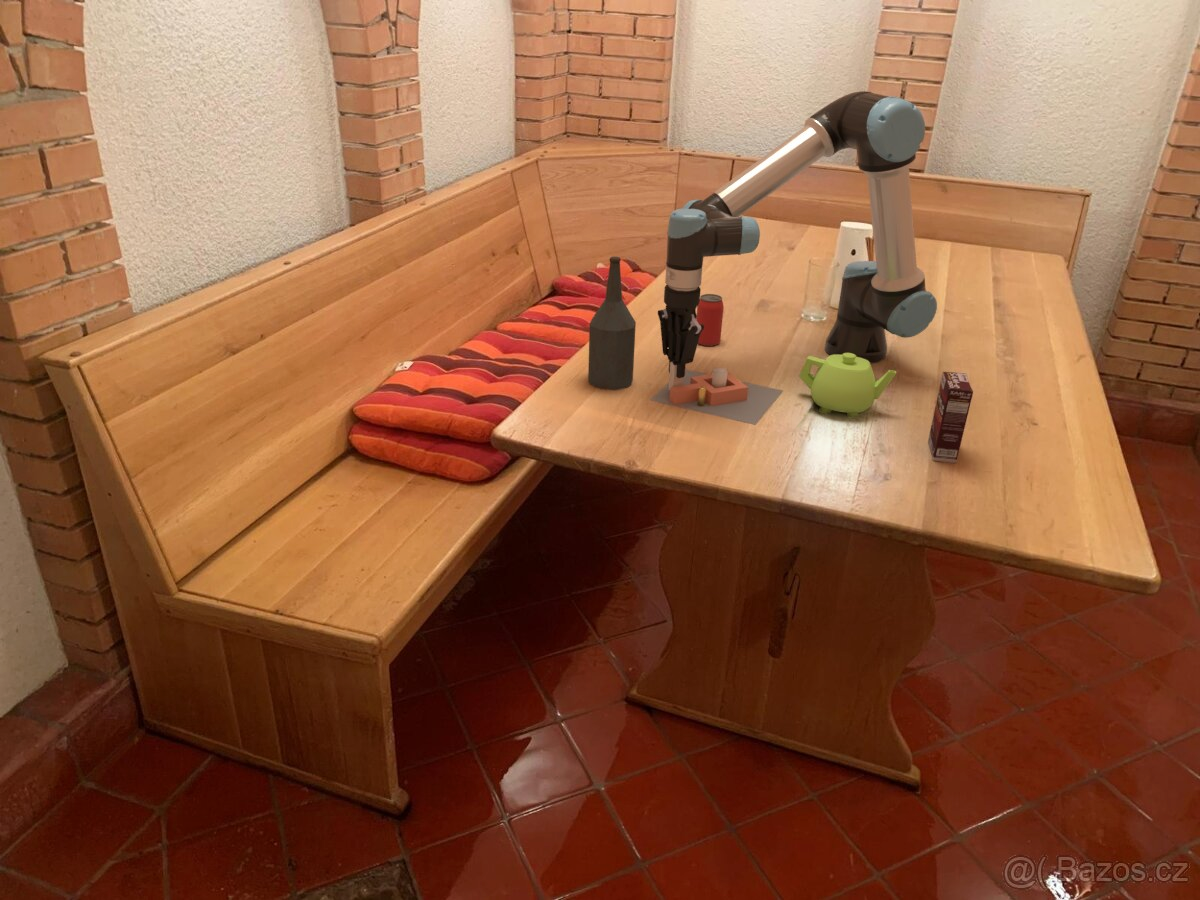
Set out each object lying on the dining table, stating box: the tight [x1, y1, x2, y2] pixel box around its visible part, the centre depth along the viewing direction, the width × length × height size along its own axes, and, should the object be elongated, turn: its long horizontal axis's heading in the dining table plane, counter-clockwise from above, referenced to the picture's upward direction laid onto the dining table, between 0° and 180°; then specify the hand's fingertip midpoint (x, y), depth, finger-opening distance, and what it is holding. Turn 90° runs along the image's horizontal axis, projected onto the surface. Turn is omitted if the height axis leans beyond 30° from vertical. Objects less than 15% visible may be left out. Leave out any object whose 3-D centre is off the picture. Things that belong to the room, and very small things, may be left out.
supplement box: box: [927, 371, 974, 464], centre depth 179 cm, size 9×5×16 cm, turn 169°
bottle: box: [587, 256, 637, 391], centre depth 200 cm, size 10×10×30 cm
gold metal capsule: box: [697, 386, 706, 406], centre depth 195 cm, size 2×2×4 cm
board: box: [649, 366, 784, 426], centre depth 200 cm, size 24×20×8 cm
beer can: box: [696, 293, 725, 347], centre depth 231 cm, size 7×7×12 cm
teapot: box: [798, 353, 897, 419], centre depth 198 cm, size 20×13×13 cm
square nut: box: [669, 372, 748, 406], centre depth 199 cm, size 16×9×3 cm, turn 114°
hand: (675, 388), depth 201 cm, fingers closed
